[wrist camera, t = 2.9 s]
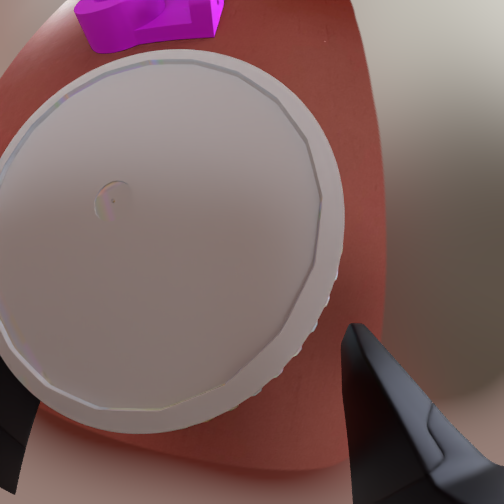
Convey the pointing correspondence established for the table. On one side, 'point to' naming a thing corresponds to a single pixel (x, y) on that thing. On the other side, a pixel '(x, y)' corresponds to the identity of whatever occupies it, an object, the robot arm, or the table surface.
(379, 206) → the table surface
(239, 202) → the bottle
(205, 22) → the tape dispenser
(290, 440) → the table surface
